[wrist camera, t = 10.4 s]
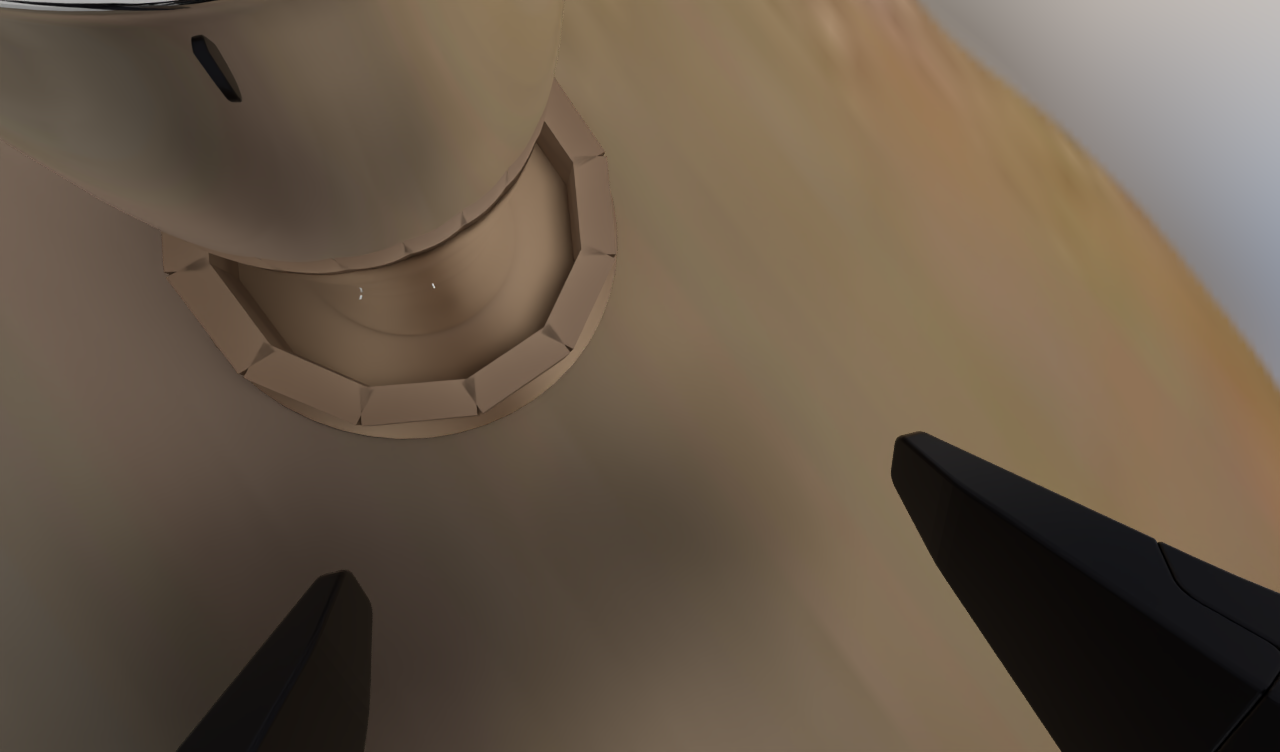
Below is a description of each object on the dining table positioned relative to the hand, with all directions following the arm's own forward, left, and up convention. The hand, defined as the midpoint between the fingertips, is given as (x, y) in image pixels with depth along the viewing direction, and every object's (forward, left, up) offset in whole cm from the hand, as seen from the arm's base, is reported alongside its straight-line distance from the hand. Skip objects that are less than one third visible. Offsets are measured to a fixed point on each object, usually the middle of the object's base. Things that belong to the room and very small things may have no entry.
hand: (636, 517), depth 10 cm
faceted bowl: (0, +9, -10) cm, 13 cm away
